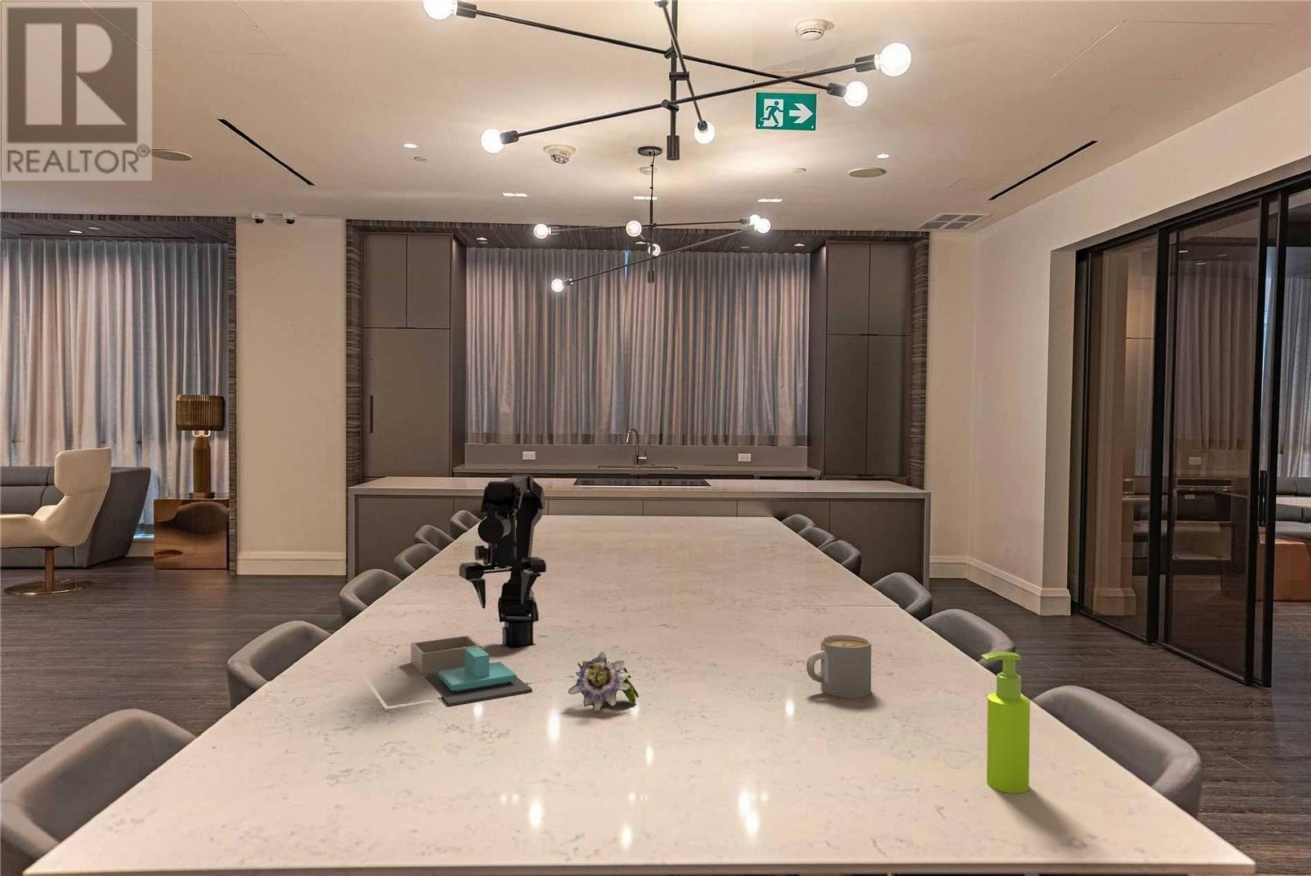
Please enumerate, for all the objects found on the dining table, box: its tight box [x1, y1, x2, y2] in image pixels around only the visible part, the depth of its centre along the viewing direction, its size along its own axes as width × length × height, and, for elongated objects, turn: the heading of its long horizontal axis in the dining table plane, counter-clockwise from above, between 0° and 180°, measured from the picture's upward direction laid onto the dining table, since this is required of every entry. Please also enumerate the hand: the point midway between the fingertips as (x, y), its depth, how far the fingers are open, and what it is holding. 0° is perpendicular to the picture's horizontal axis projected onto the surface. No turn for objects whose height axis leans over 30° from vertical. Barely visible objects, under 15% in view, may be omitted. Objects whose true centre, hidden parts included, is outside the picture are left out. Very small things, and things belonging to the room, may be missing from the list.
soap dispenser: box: [980, 651, 1031, 794], centre depth 127 cm, size 6×7×20 cm
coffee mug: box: [806, 634, 872, 699], centre depth 171 cm, size 13×10×10 cm
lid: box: [437, 647, 518, 692], centre depth 174 cm, size 13×10×6 cm
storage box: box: [410, 635, 482, 676], centre depth 187 cm, size 13×10×5 cm
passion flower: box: [567, 650, 640, 713], centre depth 163 cm, size 11×11×12 cm
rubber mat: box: [423, 673, 533, 707], centre depth 174 cm, size 17×19×1 cm
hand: (503, 606), depth 189 cm, fingers open, 9 cm apart
